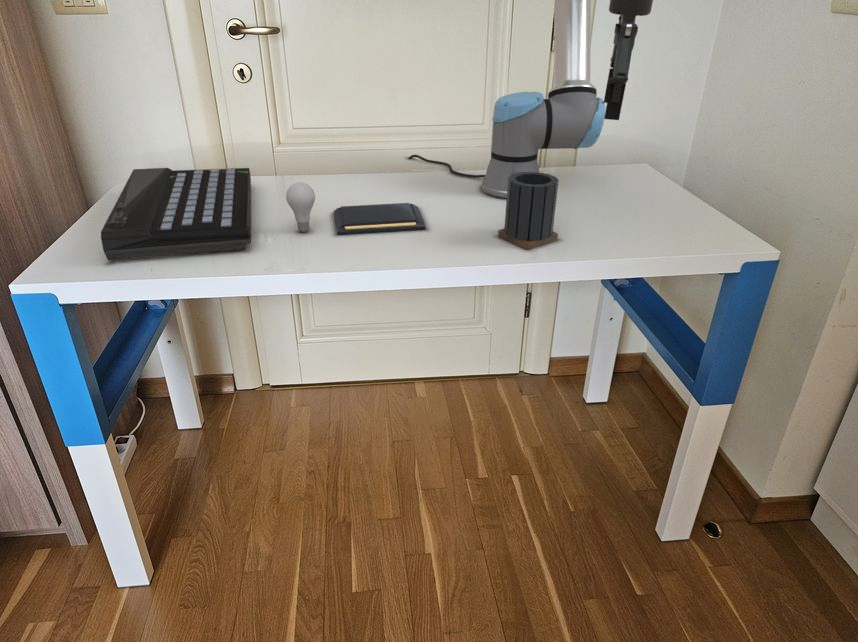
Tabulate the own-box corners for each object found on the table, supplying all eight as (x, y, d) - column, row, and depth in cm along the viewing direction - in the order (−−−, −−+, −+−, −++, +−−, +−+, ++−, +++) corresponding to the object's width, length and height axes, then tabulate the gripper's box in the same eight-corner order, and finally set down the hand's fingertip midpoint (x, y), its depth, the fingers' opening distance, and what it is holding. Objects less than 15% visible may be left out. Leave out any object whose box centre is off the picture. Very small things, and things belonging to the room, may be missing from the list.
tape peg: (497, 236, 141) (500, 194, 136) (527, 227, 146) (531, 186, 141) (527, 249, 135) (531, 205, 130) (557, 239, 140) (562, 196, 135)
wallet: (417, 199, 156) (426, 222, 143) (417, 207, 157) (425, 230, 144) (333, 203, 154) (334, 226, 141) (333, 211, 155) (335, 235, 142)
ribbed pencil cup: (495, 230, 141) (498, 177, 134) (528, 220, 146) (533, 169, 140) (528, 244, 134) (533, 189, 128) (561, 233, 139) (568, 180, 133)
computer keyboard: (252, 253, 133) (247, 222, 130) (107, 265, 128) (98, 233, 125) (252, 186, 171) (248, 160, 167) (139, 193, 166) (133, 167, 162)
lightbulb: (295, 239, 140) (289, 189, 134) (286, 229, 145) (280, 180, 139) (322, 234, 142) (318, 184, 137) (312, 225, 147) (308, 177, 141)
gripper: (660, -3, 107) (633, 128, 119) (650, -16, 127) (628, 98, 139) (613, -5, 108) (591, 125, 120) (611, -18, 129) (592, 95, 141)
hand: (610, 110), depth 130 cm, fingers open, 13 cm apart
